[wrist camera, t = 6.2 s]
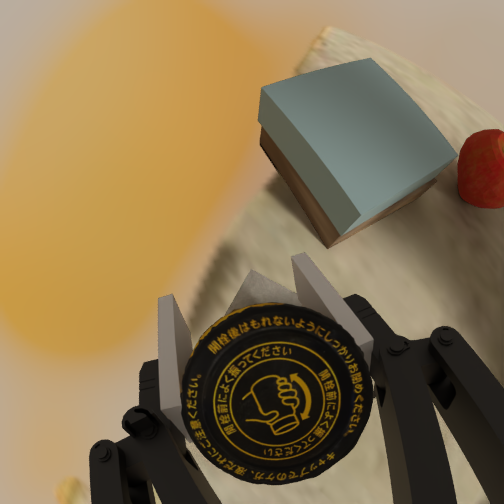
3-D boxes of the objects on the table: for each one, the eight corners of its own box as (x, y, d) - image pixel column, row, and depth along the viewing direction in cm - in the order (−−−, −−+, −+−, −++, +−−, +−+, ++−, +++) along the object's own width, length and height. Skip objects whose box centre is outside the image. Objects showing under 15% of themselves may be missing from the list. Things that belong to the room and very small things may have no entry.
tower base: (352, 112, 34) (364, 87, 30) (416, 199, 31) (437, 181, 27) (259, 144, 32) (262, 117, 27) (325, 250, 29) (341, 235, 24)
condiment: (185, 383, 18) (106, 436, 7) (251, 269, 20) (258, 175, 9) (287, 435, 17) (336, 538, 6) (349, 321, 19) (465, 292, 8)
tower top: (358, 86, 29) (370, 57, 25) (434, 177, 27) (458, 155, 22) (257, 120, 27) (261, 87, 23) (341, 236, 24) (361, 215, 20)
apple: (426, 164, 32) (475, 111, 22) (468, 160, 33) (514, 117, 22) (453, 230, 30) (516, 191, 19) (493, 219, 31) (549, 184, 20)
